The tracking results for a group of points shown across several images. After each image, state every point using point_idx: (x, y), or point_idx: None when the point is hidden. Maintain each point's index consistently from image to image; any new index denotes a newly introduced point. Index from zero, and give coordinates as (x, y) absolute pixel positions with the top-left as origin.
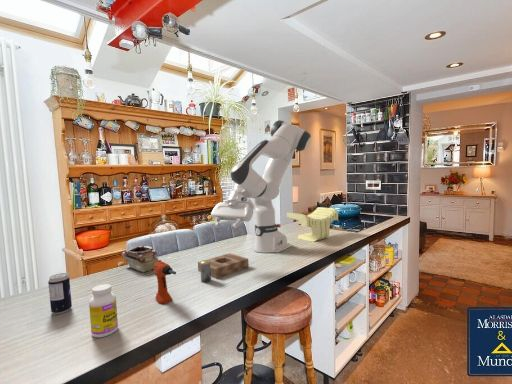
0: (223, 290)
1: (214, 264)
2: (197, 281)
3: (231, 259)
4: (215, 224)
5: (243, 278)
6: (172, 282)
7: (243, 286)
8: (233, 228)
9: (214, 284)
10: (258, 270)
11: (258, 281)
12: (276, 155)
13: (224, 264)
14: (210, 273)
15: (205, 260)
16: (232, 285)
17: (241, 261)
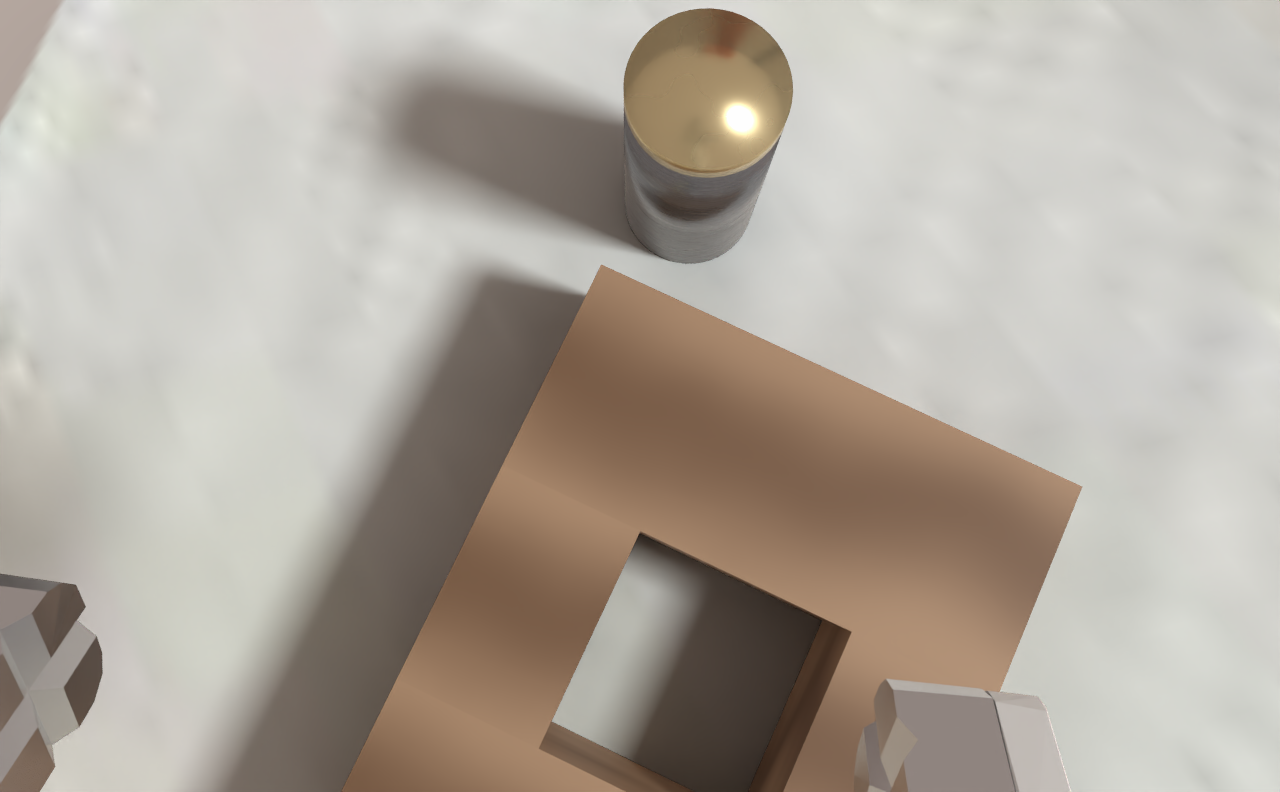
0: (327, 11)
1: (728, 450)
2: (785, 153)
3: (574, 780)
4: (1002, 711)
5: (237, 406)
6: (1074, 42)
7: (140, 172)
8: (89, 651)
9: (519, 130)
10: (131, 763)
11: (4, 365)
12: None
13: (564, 494)
14: (626, 181)
15: (732, 135)
16: (285, 162)
17: (363, 750)
